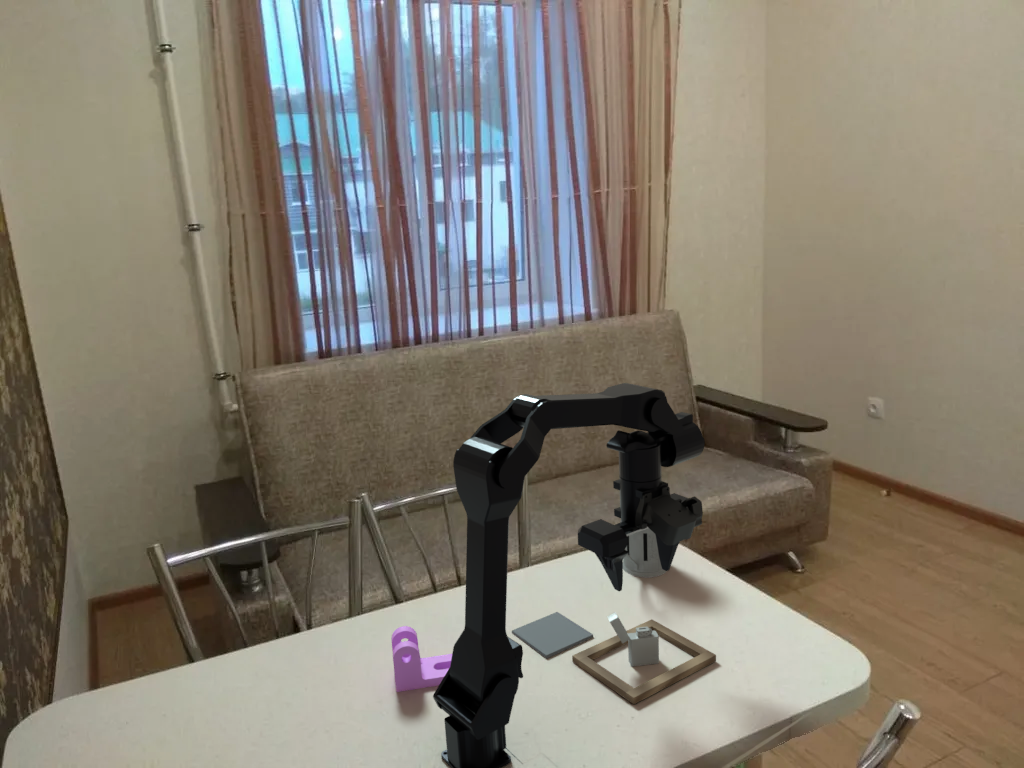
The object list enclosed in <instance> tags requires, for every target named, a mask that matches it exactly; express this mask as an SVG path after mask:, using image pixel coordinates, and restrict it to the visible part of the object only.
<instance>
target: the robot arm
mask: <svg viewBox="0 0 1024 768" xmlns="http://www.w3.org/2000/svg"><path fill="white" fill-rule="evenodd" d="M597 426H618V427H624V428H628V429H633V430H635V431H631V432H627V431H624V430H623V431H622V430H619V429H618V430H617V431H616V433H615V434H614V435H613V437H611V438H610V439H609V440H608V442H607V443H606V445H605V446H606V448H607V449H610V450H613V451H617V452H618V475H619V478H618V479H616V480H613V481H612V482H613V489H615V490H617V491H619V507H615V508H614V509H613V516H614V517H617V518H619V519H620V520H621V523H620V522H618V523H614V524H613V523H611V522H608V521H606V520H604V519H603V518H602V519H601V518H600V519H596V520H595V521H592V522H588V523H585V524H583V525H581V526H580V527H579V528H578V529H577V546H579V547H582V548H584V549H585V550H587V551H590V552H592V553H594V554H595V556H596V558H597V559H598V560H599V562H600V564H601V566H602V568H603V569H604V571H605V573H606V574H607V575H606V576H607V577H608V579H609V581H610V583H611V585H612V587H613V588H614V590H615V591H618V592H621V591H622V590H623V583H624V579H623V578H624V575H623V573H624V570H623V558H624V557H625V556H626V555H627V554H628V553H629V552H628V551H626V550H625V548H626V546H627V545H628V537H627V536H629V535H632V534H634V533H637V532H640V531H642V530H645V529H648V528H649V529H650V530H651V531H653V532H654V533H655V535H656V541H657V547H658V553H659V559H660V563H661V567H662V569H663V570H665V571H667V572H668V571H670V569H671V567H672V565H673V564H672V563H673V561H674V558H675V555H676V552H677V549H678V546H679V544H680V542H682V541H685V540H690V539H691V537H692V536H693V535H692V534H693V531H694V528H696V527H698V526H701V525H703V515H704V514H703V511H704V510H703V503H702V502H703V501H701V499H699V498H698V497H697V496H692V497H689V498H688V497H686V496H683V495H681V494H678V493H675V492H674V493H670V492H671V490H670V489H671V488H670V487H669V482H665V481H663V480H662V478H663V477H662V476H663V475H662V467H663V468H671V467H673V466H675V465H678V464H681V463H684V462H687V461H689V460H692V459H695V458H698V457H699V456H701V454H702V453H703V451H704V450H705V444H706V443H705V438H704V437H703V432H702V431H701V429H700V427H699V426H698V425H697V424H696V423H695V422H694V416H693V414H692V413H688V412H684V411H679V412H677V413H675V412H674V410H673V409H672V407H671V406H670V403H669V402H668V398H667V396H666V393H665V391H664V390H662V389H658V388H653V387H648V386H642V385H638V384H633V383H628V382H623V383H620V384H619V383H618V384H615V385H611V386H607V388H606V389H604V390H603V391H601V392H597V393H596V392H595V393H574V394H572V393H570V394H545V395H532V394H529V393H528V394H527V393H524V394H521V395H518V396H515V398H513V399H512V401H511V402H510V403H509V404H508V405H507V407H505V409H504V410H502V411H501V412H500V413H497V414H496V415H495V416H493V417H491V418H490V419H488V420H487V421H486V422H484V423H483V424H481V425H480V426H479V427H478V428H477V429H476V431H475V432H473V434H472V435H471V436H470V437H469V439H467V440H466V441H464V442H462V444H461V445H460V447H459V448H458V449H456V451H455V453H454V455H453V456H454V457H453V463H452V465H453V475H454V481H455V489H456V491H457V493H458V496H459V498H460V501H461V504H462V506H463V509H464V511H465V514H466V562H465V563H466V565H465V604H464V605H465V606H464V607H465V608H464V611H465V612H464V615H465V617H464V628H463V631H462V632H461V633H460V635H459V637H458V638H457V640H456V641H455V643H454V644H453V648H452V653H451V654H452V659H451V665H450V668H449V670H448V671H447V673H446V675H445V676H444V678H443V680H442V681H441V683H440V685H437V688H436V689H435V691H434V693H433V695H432V698H433V700H434V702H435V704H436V705H437V707H438V708H439V709H440V710H443V711H444V712H445V713H446V714H448V716H446V717H445V718H444V730H445V731H444V733H445V741H446V742H445V743H446V749H445V750H443V751H442V752H441V753H440V755H441V756H440V757H441V759H442V760H444V762H445V763H446V764H447V766H449V767H450V768H503V767H505V766H507V765H508V764H510V763H512V757H511V755H509V753H507V752H506V751H505V749H507V739H506V738H507V737H506V726H507V725H508V724H509V723H510V718H511V715H512V710H513V705H514V701H515V697H516V695H517V691H518V689H519V683H520V679H523V678H524V674H523V671H522V661H523V655H524V650H523V646H522V644H520V643H519V642H517V641H515V640H514V639H512V638H511V637H509V636H508V634H507V628H506V627H507V622H506V621H507V598H508V592H507V591H508V561H509V560H508V559H509V528H510V527H509V526H510V525H509V524H510V523H509V522H510V517H511V515H512V514H513V512H514V510H515V509H516V506H517V505H518V504H519V502H520V501H521V499H522V495H523V491H524V484H525V478H526V476H527V474H529V472H530V471H531V469H533V467H534V466H535V465H536V463H537V462H538V461H539V459H540V455H541V453H542V449H543V445H544V441H545V438H546V436H547V434H549V433H550V431H551V430H555V429H556V430H558V429H559V430H560V429H570V428H571V429H572V428H585V427H597ZM521 431H522V433H521V437H520V439H519V440H518V441H517V442H516V443H515V445H514V446H513V447H512V446H508V445H506V444H503V443H504V442H506V441H507V440H509V439H510V438H512V437H513V436H515V435H517V434H518V433H520V432H521Z"/></svg>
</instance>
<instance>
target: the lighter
mask: <svg viewBox="0 0 1024 768" xmlns="http://www.w3.org/2000/svg"><path fill="white" fill-rule="evenodd" d="M606 617H607V619H608V621H609V623H610V625H611V627H612V628H613V630H614V632H615V634H616V635H618V637H619V639H620V640H621V642H622V644H623V643H625V642H626V641H628V643H627V650H628V655H627V656H628V662H629V664H630V667H639V666H648V665H656V664H658V665H659V663H660V651H659V650H660V647H659V646H660V641H659V640H660V639H659V638H660V636H659V635H658V634H657V632H656V631H652V629H650V628H648V627H638V628H636V633H629V634H628V633H627V629H626V628H625V626H624V625H623V623H622V621H621V619H620V617H619V615H618V614H617V612H616V611H614V612H613V613H611V614H609V615H607V616H606Z"/></svg>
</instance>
